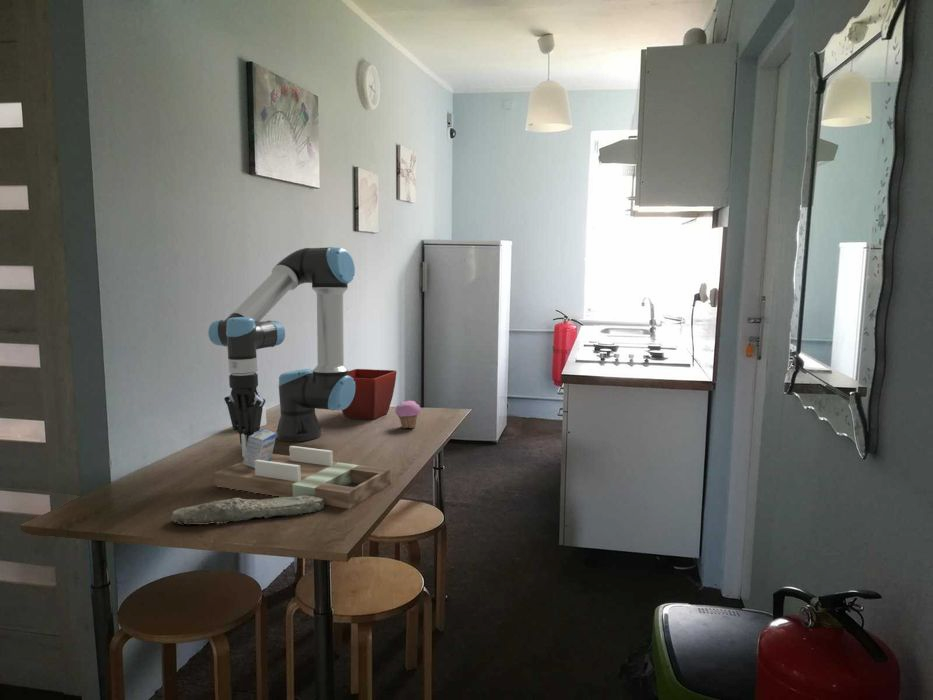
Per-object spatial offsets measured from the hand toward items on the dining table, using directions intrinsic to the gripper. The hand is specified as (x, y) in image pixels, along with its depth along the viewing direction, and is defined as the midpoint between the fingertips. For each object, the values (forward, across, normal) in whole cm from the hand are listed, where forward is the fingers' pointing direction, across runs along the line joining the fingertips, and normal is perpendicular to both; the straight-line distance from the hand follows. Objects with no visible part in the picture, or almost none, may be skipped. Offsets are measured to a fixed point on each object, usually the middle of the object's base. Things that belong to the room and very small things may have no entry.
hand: (247, 455), depth 187 cm
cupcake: (+6, +15, +65) cm, 67 cm away
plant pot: (+6, -10, +76) cm, 77 cm away
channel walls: (+2, +16, 0) cm, 16 cm away
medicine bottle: (+6, -40, +46) cm, 61 cm away
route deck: (+6, +19, 0) cm, 20 cm away
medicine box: (+2, +3, 0) cm, 4 cm away
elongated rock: (+7, +20, -22) cm, 31 cm away
